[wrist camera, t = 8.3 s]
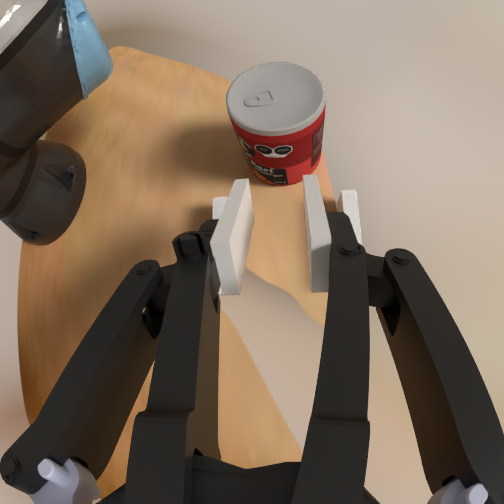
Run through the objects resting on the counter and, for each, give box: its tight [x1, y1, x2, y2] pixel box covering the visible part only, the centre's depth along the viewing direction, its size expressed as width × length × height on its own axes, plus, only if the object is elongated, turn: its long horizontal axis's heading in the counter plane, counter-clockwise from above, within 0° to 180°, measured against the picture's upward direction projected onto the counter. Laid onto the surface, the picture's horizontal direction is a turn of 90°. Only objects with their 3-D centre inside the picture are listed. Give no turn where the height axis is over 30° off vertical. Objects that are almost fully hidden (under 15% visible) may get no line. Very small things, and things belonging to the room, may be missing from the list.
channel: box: [213, 190, 362, 295], centre depth 28 cm, size 9×13×4 cm
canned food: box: [226, 62, 326, 186], centre depth 26 cm, size 8×8×11 cm
